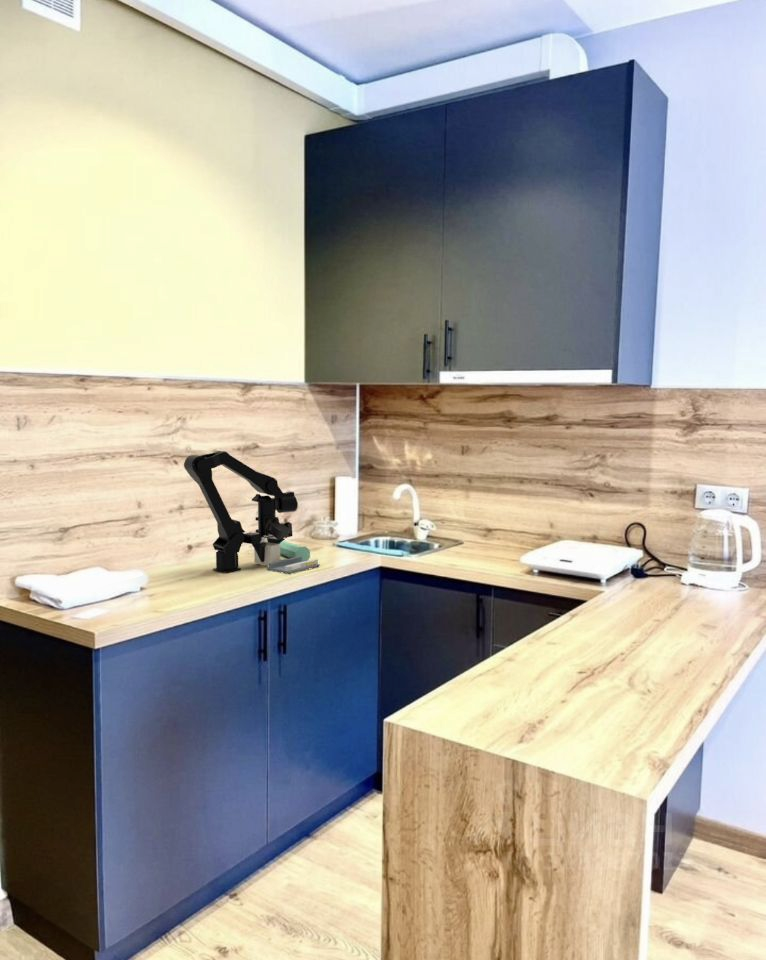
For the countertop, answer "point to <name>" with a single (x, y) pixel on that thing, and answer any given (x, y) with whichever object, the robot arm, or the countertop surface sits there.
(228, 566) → the robot arm
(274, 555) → the product box
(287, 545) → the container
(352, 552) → the countertop surface
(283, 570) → the shallow grey tray
